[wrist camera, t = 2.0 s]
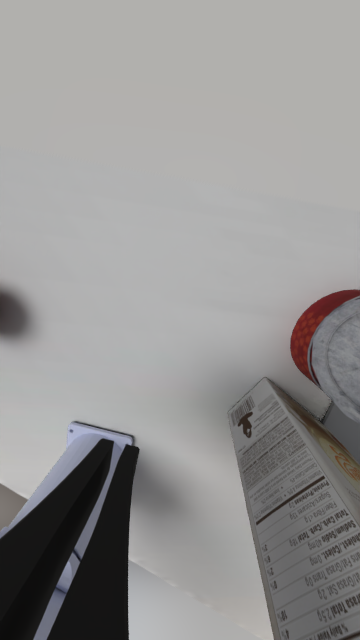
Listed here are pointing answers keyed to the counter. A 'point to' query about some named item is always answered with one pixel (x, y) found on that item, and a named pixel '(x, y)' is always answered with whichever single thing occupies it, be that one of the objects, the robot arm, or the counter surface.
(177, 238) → the counter surface
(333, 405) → the mat
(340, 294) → the canned food
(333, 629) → the coffee box
